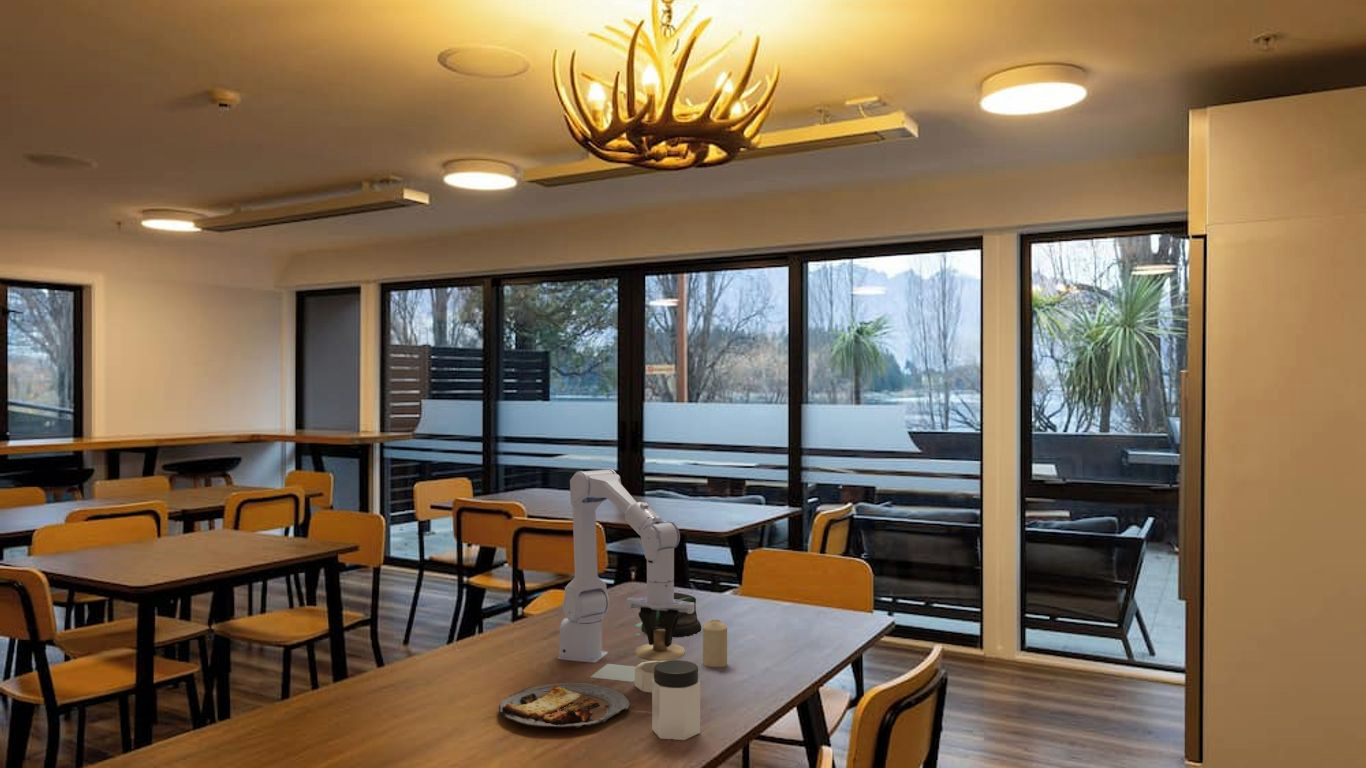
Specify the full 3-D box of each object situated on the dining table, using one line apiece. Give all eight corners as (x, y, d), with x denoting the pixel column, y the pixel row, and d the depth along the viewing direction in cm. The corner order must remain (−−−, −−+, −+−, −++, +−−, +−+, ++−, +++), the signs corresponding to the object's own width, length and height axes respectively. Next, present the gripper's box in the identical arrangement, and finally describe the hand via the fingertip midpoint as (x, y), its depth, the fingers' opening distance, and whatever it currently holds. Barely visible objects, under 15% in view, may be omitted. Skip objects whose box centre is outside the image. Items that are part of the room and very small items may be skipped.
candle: (725, 669, 207) (725, 624, 207) (700, 667, 208) (700, 623, 208) (728, 662, 213) (728, 618, 213) (705, 660, 214) (705, 617, 214)
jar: (674, 719, 176) (675, 656, 176) (708, 730, 171) (708, 665, 171) (642, 733, 169) (643, 667, 169) (676, 744, 164) (677, 677, 164)
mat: (590, 678, 200) (590, 677, 200) (607, 665, 210) (607, 663, 210) (633, 683, 197) (633, 681, 197) (649, 669, 207) (649, 667, 207)
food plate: (569, 745, 163) (569, 725, 164) (473, 721, 176) (473, 702, 176) (648, 707, 185) (649, 690, 185) (558, 688, 197) (558, 671, 197)
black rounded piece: (671, 645, 227) (671, 607, 227) (616, 630, 240) (616, 594, 240) (724, 630, 241) (724, 594, 241) (670, 616, 255) (670, 582, 255)
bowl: (629, 691, 192) (629, 672, 192) (645, 676, 202) (645, 658, 202) (675, 696, 189) (675, 677, 189) (689, 681, 199) (689, 662, 199)
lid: (629, 658, 192) (629, 635, 192) (643, 645, 202) (643, 623, 202) (677, 662, 189) (677, 639, 189) (690, 648, 199) (690, 626, 199)
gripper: (621, 581, 194) (621, 646, 194) (687, 586, 189) (687, 652, 189) (633, 575, 200) (633, 637, 200) (697, 579, 196) (697, 643, 196)
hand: (660, 644), depth 195 cm, fingers closed on lid, 3 cm apart
